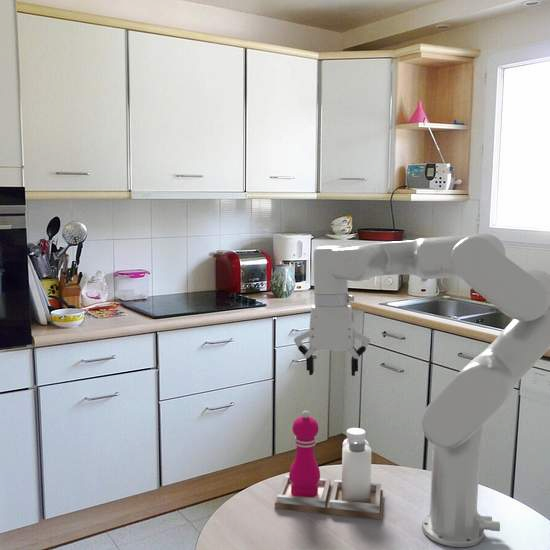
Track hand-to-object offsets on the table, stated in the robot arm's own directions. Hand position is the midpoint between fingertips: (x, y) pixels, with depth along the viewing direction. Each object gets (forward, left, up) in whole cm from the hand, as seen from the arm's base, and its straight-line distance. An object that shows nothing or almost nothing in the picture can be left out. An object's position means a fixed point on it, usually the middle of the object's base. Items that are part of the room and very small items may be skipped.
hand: (332, 374), depth 144 cm
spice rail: (0, +2, -30) cm, 30 cm away
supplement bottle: (-5, -10, -30) cm, 33 cm away
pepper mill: (+6, +2, -29) cm, 29 cm away
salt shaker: (-6, +2, -29) cm, 29 cm away
